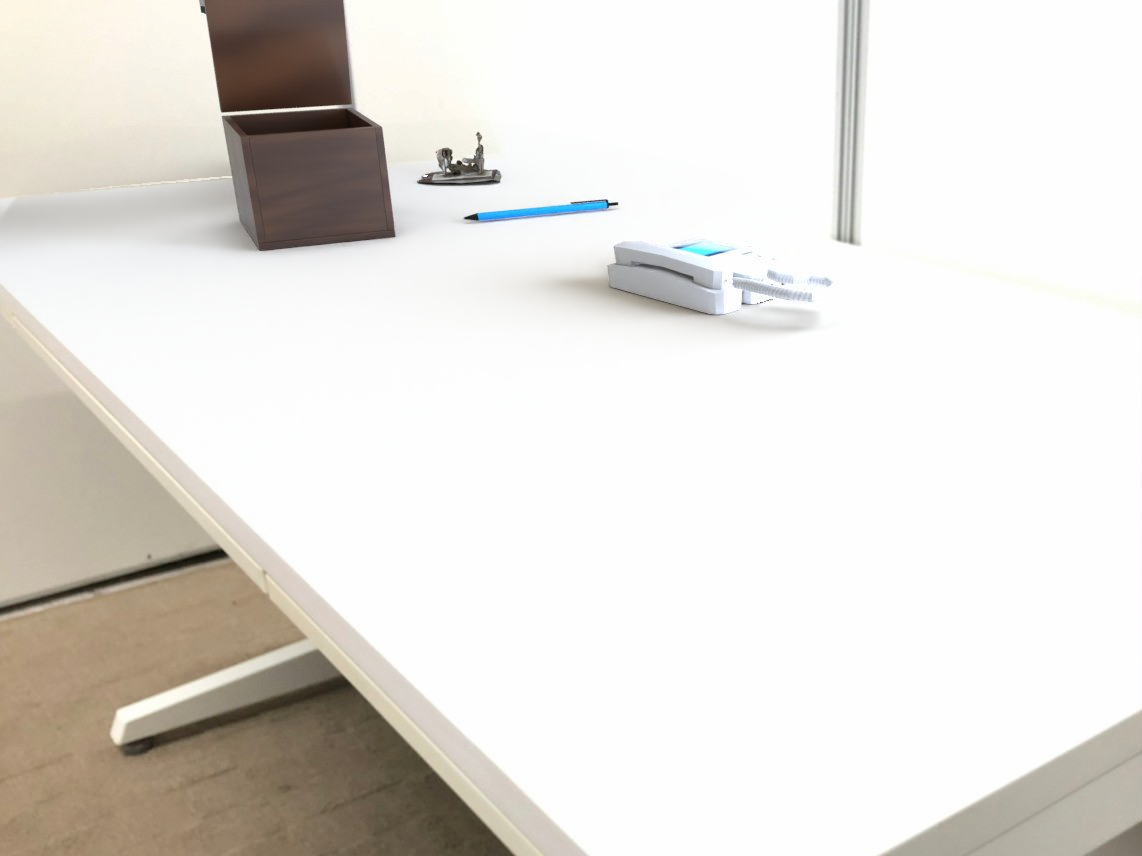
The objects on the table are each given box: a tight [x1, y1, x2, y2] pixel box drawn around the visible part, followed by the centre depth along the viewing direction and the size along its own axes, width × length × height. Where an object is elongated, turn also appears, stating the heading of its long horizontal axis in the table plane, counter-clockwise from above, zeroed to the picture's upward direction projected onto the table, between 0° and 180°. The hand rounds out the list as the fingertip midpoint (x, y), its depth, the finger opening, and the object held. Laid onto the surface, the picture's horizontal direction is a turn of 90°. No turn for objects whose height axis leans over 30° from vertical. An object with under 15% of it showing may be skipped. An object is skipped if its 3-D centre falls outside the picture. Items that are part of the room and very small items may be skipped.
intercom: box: [606, 238, 841, 316], centre depth 122 cm, size 13×4×25 cm
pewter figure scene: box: [417, 131, 502, 184], centre depth 175 cm, size 12×6×11 cm
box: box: [221, 106, 396, 251], centre depth 147 cm, size 17×15×12 cm
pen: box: [462, 198, 619, 222], centre depth 155 cm, size 1×19×1 cm, turn 114°
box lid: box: [204, 0, 353, 114], centre depth 145 cm, size 17×15×1 cm
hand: (275, 9), depth 145 cm, fingers closed
